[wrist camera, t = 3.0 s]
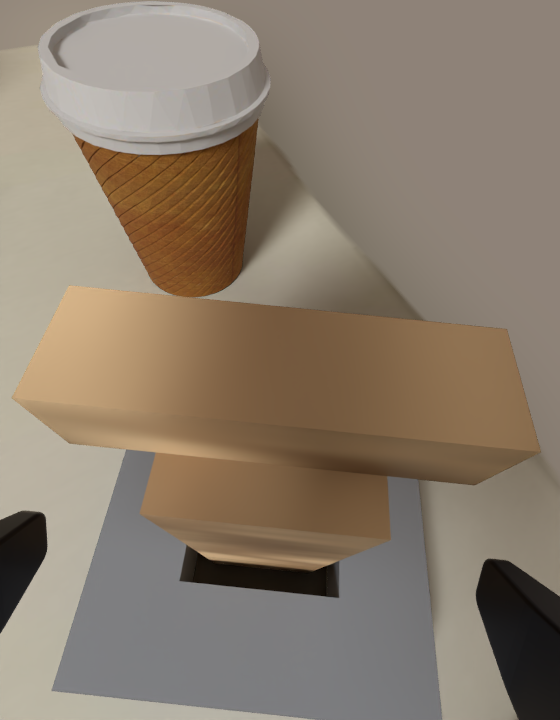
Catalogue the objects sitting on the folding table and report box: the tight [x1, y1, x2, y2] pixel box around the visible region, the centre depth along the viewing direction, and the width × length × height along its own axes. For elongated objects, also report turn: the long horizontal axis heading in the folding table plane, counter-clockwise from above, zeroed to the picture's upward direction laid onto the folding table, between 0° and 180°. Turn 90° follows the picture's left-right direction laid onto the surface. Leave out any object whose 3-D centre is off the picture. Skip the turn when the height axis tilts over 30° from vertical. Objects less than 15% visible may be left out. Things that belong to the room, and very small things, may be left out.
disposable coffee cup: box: [38, 1, 270, 297], centre depth 20 cm, size 10×10×12 cm
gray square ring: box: [52, 449, 442, 720], centre depth 16 cm, size 12×12×3 cm
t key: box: [12, 285, 541, 573], centre depth 11 cm, size 7×4×14 cm, turn 85°
